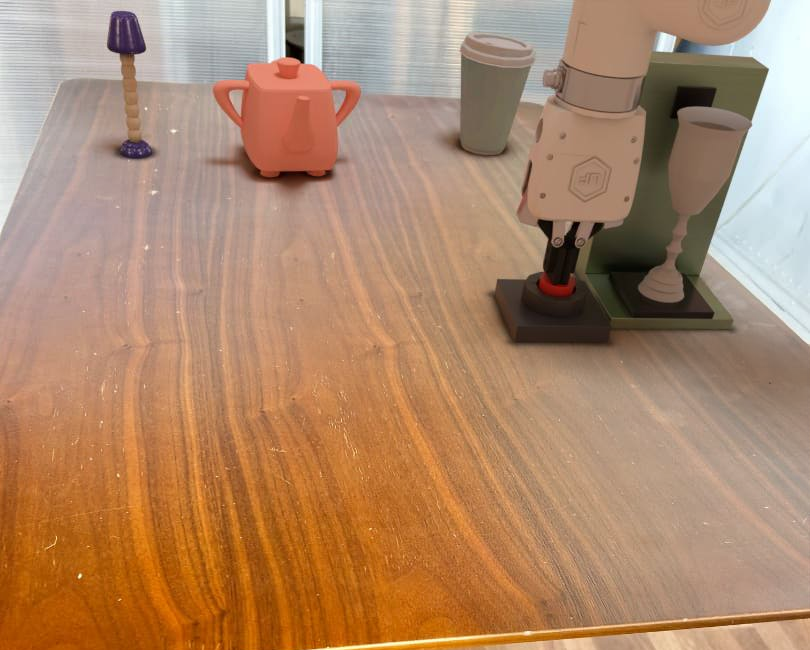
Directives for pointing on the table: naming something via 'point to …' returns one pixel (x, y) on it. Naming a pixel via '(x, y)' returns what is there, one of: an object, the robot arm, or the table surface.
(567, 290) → the button
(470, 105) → the disposable coffee cup
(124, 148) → the toy lamp
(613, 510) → the table surface
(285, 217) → the table surface
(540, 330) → the button block
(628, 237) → the green panel on base
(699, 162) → the chalice
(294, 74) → the teapot
